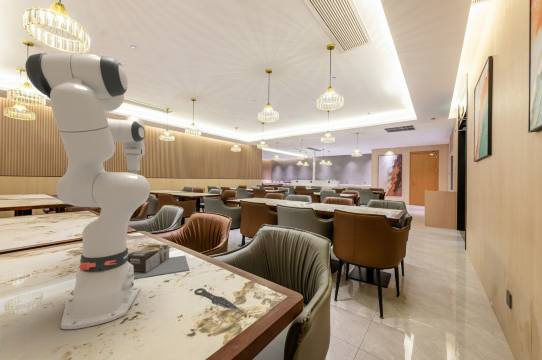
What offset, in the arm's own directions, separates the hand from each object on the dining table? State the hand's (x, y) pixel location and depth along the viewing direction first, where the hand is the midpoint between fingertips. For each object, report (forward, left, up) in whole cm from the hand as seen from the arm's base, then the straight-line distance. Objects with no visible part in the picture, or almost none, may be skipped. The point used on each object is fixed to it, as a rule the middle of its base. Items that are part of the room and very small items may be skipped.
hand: (134, 180), depth 110 cm
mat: (-24, -12, -35) cm, 44 cm away
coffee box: (-14, -11, -32) cm, 36 cm away
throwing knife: (-58, -27, -36) cm, 74 cm away
